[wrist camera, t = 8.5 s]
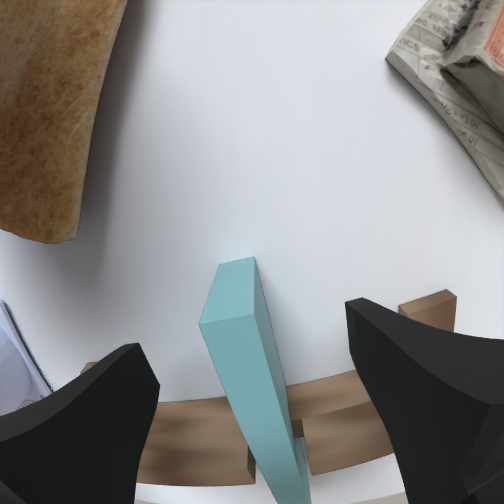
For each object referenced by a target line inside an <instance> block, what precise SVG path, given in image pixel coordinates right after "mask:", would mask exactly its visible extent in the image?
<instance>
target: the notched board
mask: <svg viewBox="0 0 504 504" xmlns="http://www.w3.org/2000/svg"><path fill="white" fill-rule="evenodd" d="M456 302H457V296H455V295H454V294H453V293H451V292H450V291H449V290H447V289H445V290H443V291H440V292H437V293H434V294H431V295H428V296H426V297H423V298H420V299H417V300H414V301H410V302H407V303H404V304H401V305H399V314H401V315H403V316H406V317H408V318H410V319H413V320H415V321H418V322H421V323H424V324H427V325H429V326H432V327H436V328H439V329H443V330H447V331H451V332H454V323H455V313H456ZM96 363H97V362H91V363H87V364H86V366H85V367H84V368H83V370H82V371H81V372H80V373H81V374H82V373H84V372H85V371H86V370H88V369H89V368H91V367H92V366H93V365H95V364H96ZM286 393H287V401H288V409H289V417H290V421H291V425H292V428H293V432H294V436H295V438H299V437H305V443H306V449H307V456H308V462H309V466H310V470H311V475H317V474H322V473H327V472H331V471H335V470H339V469H343V468H347V467H351V466H354V465H358V464H361V463H365V462H368V461H371V460H374V459H377V458H380V457H383V456H386V455H389V454H392V453H394V450H393V447H392V444H391V442H390V439H389V436H388V433H387V431H386V428H385V426H384V424H383V422H382V420H381V418H380V416H379V414H378V412H377V410H376V408H375V406H374V404H373V402H372V400H371V399H370V397H369V395H368V393H367V391H366V389H365V387H364V385H363V383H362V381H361V379H360V377H359V375H358V373H357V370H353V371H350V372H346V373H342V374H339V375H335V376H331V377H327V378H323V379H319V380H314V381H310V382H306V383H301V384H297V385H292V386H287V387H286ZM136 483H145V484H155V485H169V486H234V485H248V484H255V458H254V456H253V454H252V452H251V450H250V447H249V445H248V443H247V441H246V439H245V437H244V435H243V432H242V430H241V428H240V426H239V423H238V421H237V419H236V417H235V414H234V412H233V410H232V407H231V405H230V403H229V400H228V398H227V396H226V397H218V398H209V399H200V400H189V401H176V402H159V403H157V409H156V412H155V415H154V418H153V421H152V425H151V428H150V431H149V434H148V437H147V440H146V443H145V446H144V449H143V452H142V456H141V459H140V463H139V468H138V475H137V481H136Z"/></svg>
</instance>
